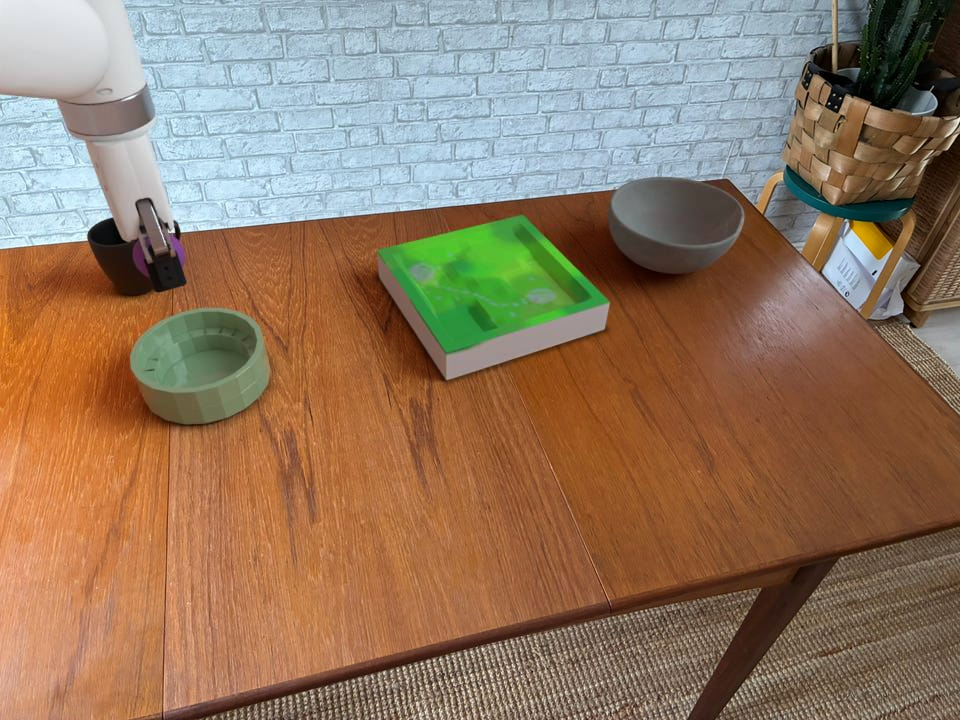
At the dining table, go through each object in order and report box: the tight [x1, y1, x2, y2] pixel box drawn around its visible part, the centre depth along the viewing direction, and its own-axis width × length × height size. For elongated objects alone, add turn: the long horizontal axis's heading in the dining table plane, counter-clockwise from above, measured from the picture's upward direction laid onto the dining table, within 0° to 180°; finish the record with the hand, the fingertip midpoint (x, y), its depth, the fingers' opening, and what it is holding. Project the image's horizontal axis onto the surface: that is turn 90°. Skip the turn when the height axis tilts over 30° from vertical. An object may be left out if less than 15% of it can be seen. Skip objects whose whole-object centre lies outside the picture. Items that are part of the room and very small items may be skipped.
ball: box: [133, 233, 186, 277], centre depth 74 cm, size 5×5×5 cm
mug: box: [86, 216, 182, 297], centre depth 103 cm, size 8×12×10 cm
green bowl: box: [129, 307, 272, 425], centre depth 89 cm, size 16×16×6 cm
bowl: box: [607, 176, 745, 275], centre depth 111 cm, size 20×20×10 cm
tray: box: [376, 214, 611, 381], centre depth 103 cm, size 25×25×5 cm
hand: (164, 271), depth 75 cm, fingers closed on ball, 4 cm apart
